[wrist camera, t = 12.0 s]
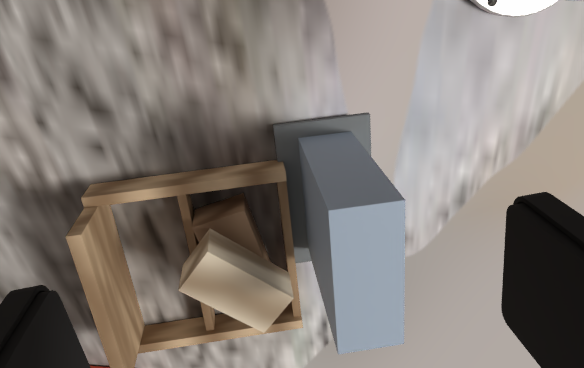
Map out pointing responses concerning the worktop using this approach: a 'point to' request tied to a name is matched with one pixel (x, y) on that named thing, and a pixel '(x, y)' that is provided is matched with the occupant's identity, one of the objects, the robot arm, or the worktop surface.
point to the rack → (114, 270)
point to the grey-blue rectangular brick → (354, 241)
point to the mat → (290, 156)
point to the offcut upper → (236, 281)
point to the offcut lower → (230, 223)
